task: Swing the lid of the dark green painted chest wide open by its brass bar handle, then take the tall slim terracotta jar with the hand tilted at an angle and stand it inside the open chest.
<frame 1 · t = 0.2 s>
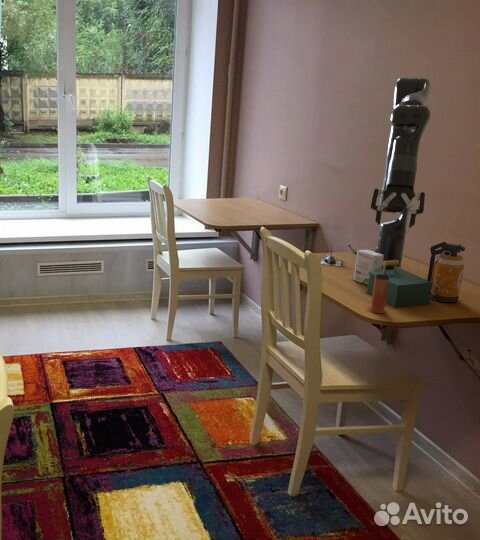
hand: (394, 225, 178), 31 cm above the table, tool tilted 20°, fingers open, 8 cm apart
bomb figurine: (330, 263, 250), on the table
chest: (397, 298, 210), on the table
ink box: (366, 283, 225), on the table
canister: (439, 299, 209), on the table
lid: (400, 272, 207), point 9 cm above the table, hinge at 0.0°
jar: (377, 311, 198), on the table
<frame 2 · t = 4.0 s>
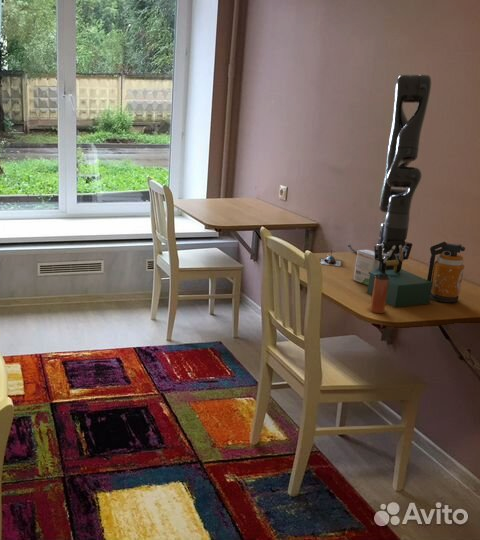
hand: (389, 271, 213), 8 cm above the table, tool pointing down, fingers closed on lid, 5 cm apart
lid: (400, 272, 207), point 9 cm above the table, hinge at 0.0°, touching gripper
everything else where it was.
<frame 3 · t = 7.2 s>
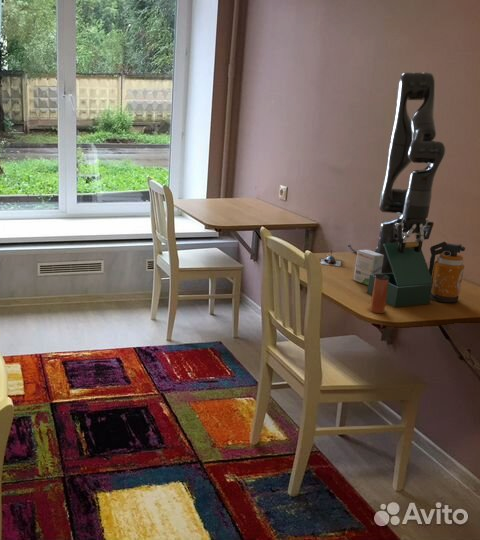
hand: (408, 251, 203), 17 cm above the table, tool pointing down, fingers closed on lid, 5 cm apart
lid: (412, 261, 201), point 15 cm above the table, hinge at 51.1°, touching gripper
everything else where it was.
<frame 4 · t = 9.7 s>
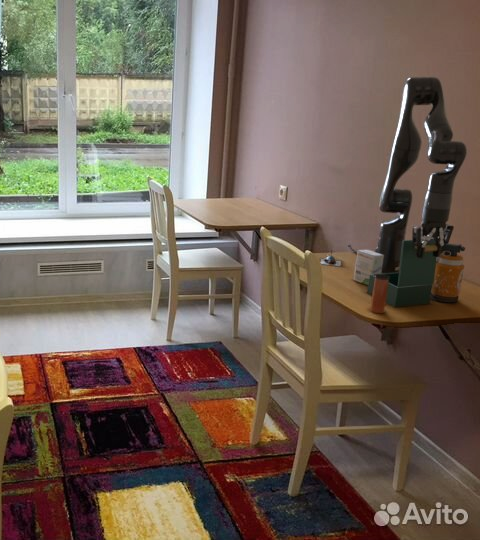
hand: (427, 256, 195), 18 cm above the table, tool pointing down, fingers closed on lid, 5 cm apart
lid: (422, 263, 197), point 15 cm above the table, hinge at 86.3°, touching gripper
everything else where it was.
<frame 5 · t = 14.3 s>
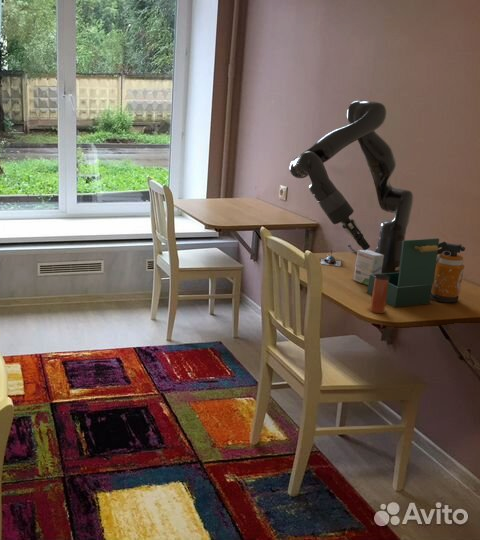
hand: (365, 246, 194), 21 cm above the table, tool tilted 40°, fingers open, 8 cm apart
lid: (423, 263, 197), point 15 cm above the table, hinge at 86.7°
everything else where it was.
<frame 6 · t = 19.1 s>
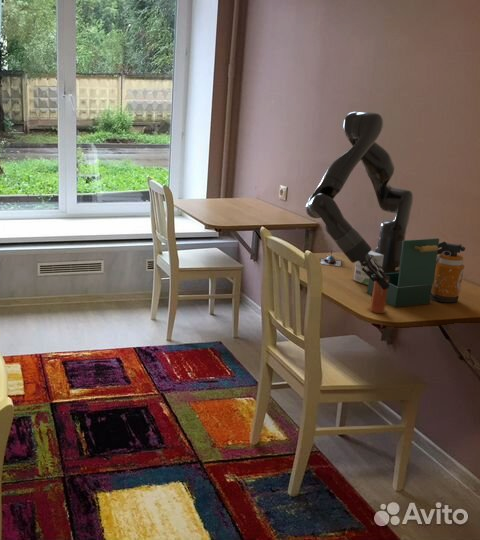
hand: (387, 285, 194), 9 cm above the table, tool tilted 45°, fingers closed on jar, 4 cm apart
jar: (377, 311, 198), on the table, touching gripper
everything else where it was.
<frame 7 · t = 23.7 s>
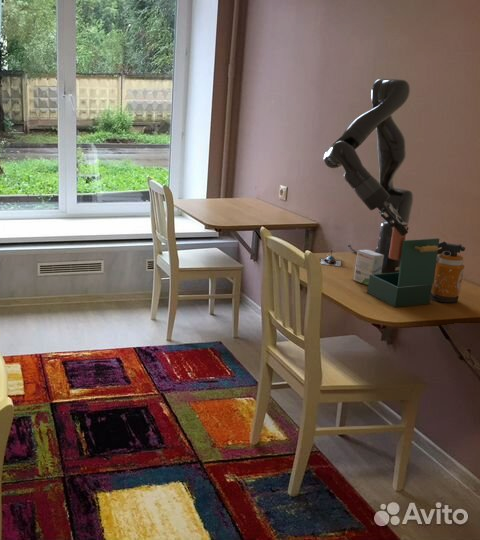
hand: (405, 232, 197), 25 cm above the table, tool tilted 45°, fingers closed on jar, 4 cm apart
jar: (395, 258, 201), point 16 cm above the table, touching gripper
everything else where it was.
when the fingers open (10 cm above the table, at t = 29.3 s): jar stays where it is, resting on chest.
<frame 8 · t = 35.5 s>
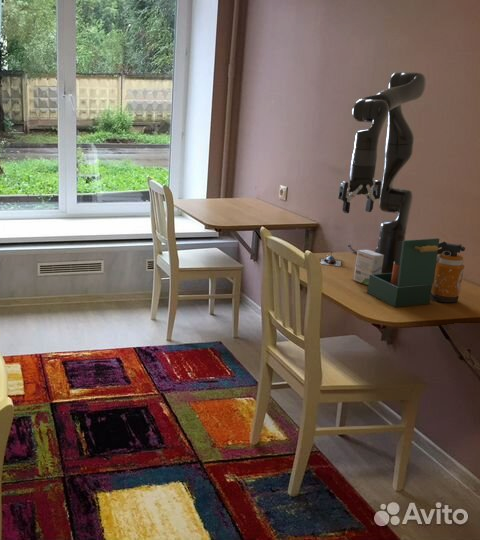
hand: (357, 212, 201), 30 cm above the table, tool pointing down, fingers open, 8 cm apart
jar: (395, 294, 210), point 1 cm above the table, touching chest
everything else where it was.
at the end: lid at +87° (first picture: +0°); jar inside the target area in the chest (1.0 cm from its centre), point 0.8 cm above the chest's base; jar tilted 0° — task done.
